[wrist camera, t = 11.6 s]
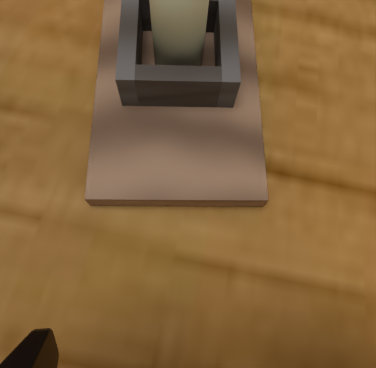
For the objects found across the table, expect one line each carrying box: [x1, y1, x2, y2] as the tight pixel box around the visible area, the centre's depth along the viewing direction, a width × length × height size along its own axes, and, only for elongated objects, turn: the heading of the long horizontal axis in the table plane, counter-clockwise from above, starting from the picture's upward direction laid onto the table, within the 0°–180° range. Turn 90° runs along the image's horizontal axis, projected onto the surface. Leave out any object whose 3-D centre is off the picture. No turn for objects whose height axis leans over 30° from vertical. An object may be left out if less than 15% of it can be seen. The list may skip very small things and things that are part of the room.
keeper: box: [85, 0, 268, 206], centre depth 25 cm, size 22×12×4 cm, turn 0°
